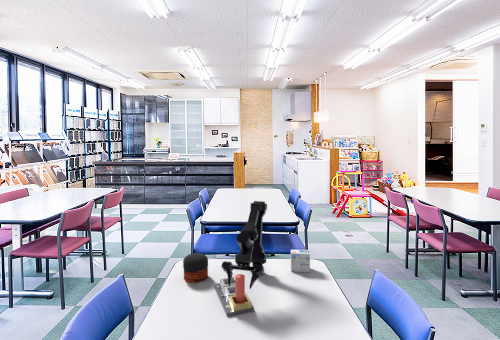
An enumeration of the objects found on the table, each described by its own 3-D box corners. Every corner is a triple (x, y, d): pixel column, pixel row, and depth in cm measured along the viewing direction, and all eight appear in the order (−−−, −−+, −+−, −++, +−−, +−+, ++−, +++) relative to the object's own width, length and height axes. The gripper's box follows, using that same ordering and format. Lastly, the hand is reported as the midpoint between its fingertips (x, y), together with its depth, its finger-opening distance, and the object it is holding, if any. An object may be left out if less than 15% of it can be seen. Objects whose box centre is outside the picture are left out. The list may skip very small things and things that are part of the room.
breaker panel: (214, 286, 154) (213, 279, 154) (237, 283, 158) (237, 275, 157) (227, 316, 129) (226, 307, 128) (254, 311, 132) (254, 302, 132)
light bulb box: (309, 267, 177) (309, 249, 176) (310, 272, 170) (310, 253, 169) (290, 267, 178) (290, 248, 177) (290, 272, 171) (290, 253, 170)
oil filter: (192, 270, 173) (178, 280, 161) (191, 249, 172) (178, 257, 160) (212, 274, 168) (200, 284, 156) (212, 252, 167) (199, 261, 155)
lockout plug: (236, 301, 137) (236, 273, 136) (245, 302, 136) (245, 274, 135) (234, 306, 133) (234, 277, 132) (243, 307, 132) (243, 278, 131)
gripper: (222, 244, 139) (214, 278, 129) (263, 247, 135) (258, 283, 125) (227, 254, 147) (220, 287, 138) (266, 257, 143) (261, 292, 134)
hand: (239, 287), depth 133 cm, fingers open, 9 cm apart
